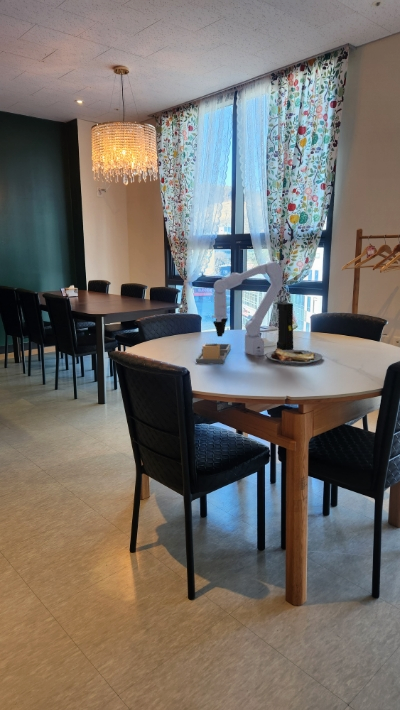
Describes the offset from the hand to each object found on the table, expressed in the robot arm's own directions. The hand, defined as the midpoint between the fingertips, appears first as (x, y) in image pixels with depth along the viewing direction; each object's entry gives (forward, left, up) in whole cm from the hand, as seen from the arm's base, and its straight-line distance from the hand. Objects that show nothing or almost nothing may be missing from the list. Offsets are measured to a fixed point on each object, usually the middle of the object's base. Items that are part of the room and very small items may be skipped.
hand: (220, 334), depth 224 cm
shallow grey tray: (-9, +9, -9) cm, 16 cm away
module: (-9, +9, -9) cm, 15 cm away
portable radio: (-5, -33, -10) cm, 35 cm away
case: (+4, +1, -9) cm, 10 cm away
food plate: (-25, -23, -10) cm, 36 cm away
